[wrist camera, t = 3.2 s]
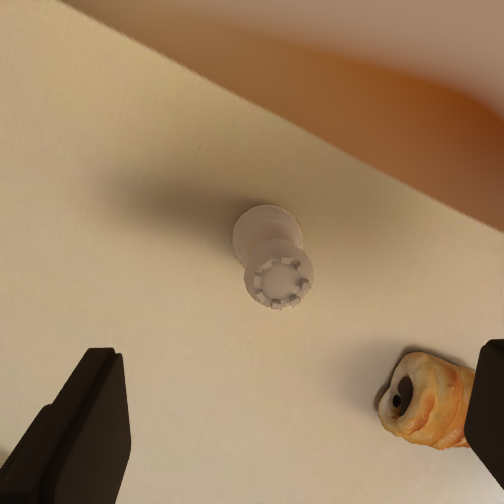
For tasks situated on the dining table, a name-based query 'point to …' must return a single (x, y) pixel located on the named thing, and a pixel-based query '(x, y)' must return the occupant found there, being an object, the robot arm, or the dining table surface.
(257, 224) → the rook chess piece
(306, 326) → the dining table surface
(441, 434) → the pastry
